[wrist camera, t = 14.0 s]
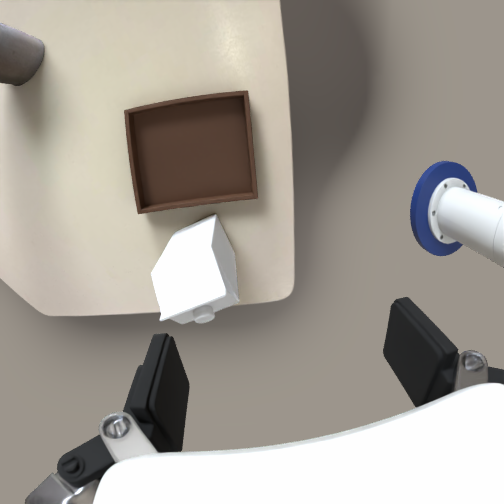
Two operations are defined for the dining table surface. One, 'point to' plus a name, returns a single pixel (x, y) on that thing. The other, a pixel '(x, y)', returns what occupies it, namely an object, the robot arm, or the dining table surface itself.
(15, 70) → the pillar candle
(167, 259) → the milk carton
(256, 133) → the dining table surface
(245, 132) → the tray
